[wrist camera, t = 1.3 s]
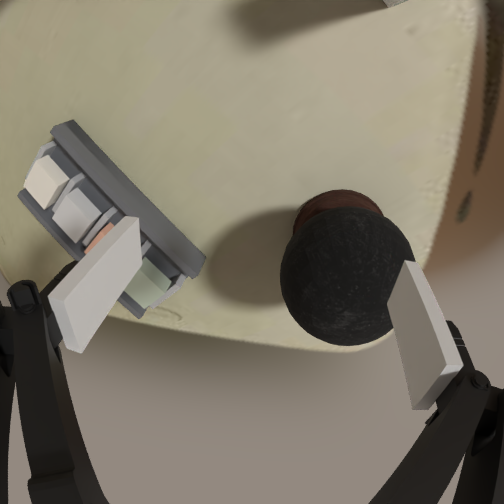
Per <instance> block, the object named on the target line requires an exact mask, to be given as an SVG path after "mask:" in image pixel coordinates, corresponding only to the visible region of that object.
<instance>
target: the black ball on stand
mask: <svg viewBox="0 0 504 504" xmlns="http://www.w3.org/2000/svg"><path fill="white" fill-rule="evenodd" d="M405 260H406V261H412V262H416V261H415V258H414V255H413V252H412V250H411V247H410V244H409V242H408V240H407V239H406V237H405V236H404V234H403V233H402V232H401V231H400V229H399V228H398V227H397V226H396V225H395V224H394V223H393V222H392V221H390V220H389V219H388V218H386V217H384V216H383V213H382V212H381V210H380V209H379V207H378V206H377V205H376V203H374V202H373V201H372V200H371V199H370V198H368V197H367V196H365V195H363V194H361V193H358V192H355V191H352V190H343V189H342V190H332V191H328V192H325V193H322V194H320V195H318V196H316V197H314V198H313V199H311V200H310V201H309V202H308V203H306V205H305V206H304V207H303V208H302V209H301V210H300V212H299V214H298V216H297V217H296V220H295V223H294V227H293V236H292V238H291V240H290V242H289V243H288V245H287V247H286V250H285V253H284V256H283V259H282V263H281V270H280V284H281V290H282V296H283V298H284V300H285V303H286V305H287V308H288V310H289V312H290V314H291V315H292V317H293V318H294V319H295V321H296V322H297V323H298V324H299V325H300V326H301V327H302V328H303V329H304V330H305V331H306V332H307V333H309V334H311V335H312V336H314V337H316V338H318V339H320V340H322V341H325V342H327V343H330V344H334V345H340V346H353V345H361V344H365V343H369V342H371V341H374V340H376V339H378V338H380V337H382V336H384V335H385V334H386V333H388V332H389V331H390V330H391V329H393V324H392V320H391V317H390V313H389V310H388V306H387V302H388V300H389V298H390V295H391V293H392V291H393V288H394V286H395V283H396V281H397V278H398V276H399V273H400V271H401V268H402V266H403V263H404V261H405Z"/></svg>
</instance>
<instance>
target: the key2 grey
mask: <svg viewBox="0 0 504 504" xmlns="http://www.w3.org/2000/svg"><path fill="white" fill-rule="evenodd" d="M101 214H102V213H101V212H100V211H99V210H98V209H97V208H96V207H95V206H94V204H93V203H92V202H91V201H90V200H89V199H88V198H87V197H86V196H85V195H84V194H83V193H82V192H81V191H80V190H79V188H78V187H77V188H76V189H74V190H73V191H71V192H70V193H68V194H67V195H66V196H65V198H64V199H63V201H62V202H61V204H60V206H59V207H58V209H57V211H56V212H55V214H54V216H53V217H52V219H53V220H54V221H55V222H56V223H57V224H58V225H59V227H60V228H61V229H62V230H63V231H64V232H65V233H66V234H67V235H68V236H69V237H70V238H71V239H72V240H73V241H74V242H75V243H77V242H78V241H79V240H80V239H81V238H82V237H83V236H84V235H85V234H86V233H87V232H88V230H89V229H90V228H91V227H92V225H93V224H94V223H95V221H96V220H97V219H98V218H99V216H100V215H101Z"/></svg>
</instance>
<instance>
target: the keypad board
mask: <svg viewBox="0 0 504 504" xmlns="http://www.w3.org/2000/svg"><path fill="white" fill-rule="evenodd" d="M50 133H51V134H52V135H53V136H54V140H53V141H52V142H49V143H47V144H45V145H42V146H41V148H40V150H39V152H38V154H37V155H36V157H35V159H34V161H33V163H32V165H31V167H30V169H29V171H28V173H27V175H26V177H25V180H26V179H27V177H28V175H29V173H30V171H31V169H32V167H33V165H34V163H35V161H36V160H38V159H40V158H42V157H44V156H46V155H49V156H50V157H51V159H52V160H53V161H54V162H55V163H56V164H57V165H58V166H59V168H60V169H61V170H62V171H63V172H64V173H65V174H66V175H67V176H68V178H69V181H68V183H67V184H66V186H65V187H64V189H63V190H62V192H61V194H60V195H59V197H58V199H57V200H56V202H55V203H53V204H52V205H51V206H49V207H48V208H46V209H45V210H44V209H43V208H42V207H41V206H40V204H39V203H38V202H37V201H36V200H35V199H34V198H33V196H32V195H31V194H30V193H29V192H28V191H27V189H26V188H25V189H23V190H21V191H20V192H19V194H18V198H19V199H20V200H21V201H22V202H23V204H24V205H25V206H26V207H27V208H28V209H29V211H30V212H31V213H32V214H33V215H34V216H35V217H36V219H37V220H38V221H39V222H40V223H41V224H42V225H43V226H44V227H45V229H46V230H47V231H48V232H49V233H50V234H51V235H52V236H53V237H54V238H55V239H56V240H57V241H58V243H59V244H60V245H61V246H62V247H63V248H64V249H65V250H66V251H67V252H68V253H69V254H70V255H71V256H72V257H73V258H74V259H75V260H76V261H80V260H81V259H82V258H83V257H84V256H85V255H86V254H85V253H84V251H85V250H86V249H87V247H88V246H89V245H90V244H91V242H92V241H93V240H94V239H95V237H96V236H97V235H98V234H99V233H100V231H101V230H102V229H103V228H104V227H106V226H107V225H108V224H109V223H110V222H111V223H112V224H113V225H114V226H115V225H116V224H117V223H118V222H120V221H121V220H122V219H123V218H124V217H125V216H130V217H137V218H139V228H140V242H141V254H142V259H143V258H144V257H146V258H147V259H148V260H149V261H150V262H151V263H152V264H153V265H155V266H156V267H157V268H158V269H159V270H160V271H161V272H162V273H163V274H164V275H165V276H166V277H167V278H168V279H169V280H170V281H171V284H170V286H169V287H168V289H167V291H166V293H165V294H164V295H163V296H161V297H160V298H159V299H157V300H156V301H155V302H153V303H152V304H151V305H149V306H150V307H151V308H152V309H153V308H155V307H156V306H157V305H159V304H160V303H161V302H163V301H164V300H166V299H167V298H168V297H170V296H171V295H172V294H174V293H175V292H176V291H178V290H179V289H180V288H181V286H182V284H183V282H184V280H185V279H186V278H187V277H188V276H189V277H191V278H192V279H193V278H195V277H196V276H198V274H199V272H200V270H201V268H202V265H203V263H204V261H205V259H206V256H205V255H204V254H203V253H202V252H201V251H200V250H199V249H198V248H196V247H195V246H194V245H193V244H192V243H191V242H190V241H189V240H188V239H187V238H186V237H185V236H184V235H183V234H182V233H181V232H180V231H179V230H178V229H177V228H176V227H175V226H174V225H173V224H172V223H171V222H170V221H169V220H168V218H167V217H166V216H165V215H164V214H163V213H162V212H161V211H160V210H159V209H158V208H157V207H156V206H155V205H154V204H153V203H152V202H151V201H150V200H149V199H148V198H147V197H146V196H145V195H144V194H143V193H142V192H141V191H140V190H139V189H138V188H137V187H136V186H135V185H134V184H133V183H132V182H131V181H130V180H129V178H128V177H127V176H126V175H125V174H124V173H123V172H122V171H121V170H120V169H119V168H118V167H117V166H116V165H115V164H114V163H113V162H112V161H111V160H110V159H109V158H108V156H107V155H106V154H105V153H104V152H103V151H102V150H101V149H100V148H99V147H98V146H97V145H96V144H95V143H94V142H93V140H92V139H91V138H90V137H89V136H88V135H87V134H86V133H85V132H84V131H83V130H82V129H81V127H80V126H79V125H78V124H77V123H76V122H75V121H74V120H70V121H67V122H64V123H61V124H59V125H56V126H54V127H53V128H52V130H51V132H50ZM77 187H78V188H79V190H80V191H81V192H82V193H83V194H84V195H85V196H86V197H87V198H88V199H89V200H90V201H91V202H92V203H93V204H94V206H95V207H96V208H97V209H98V210H99V211H100V212H101V213H102V214H101V215H100V216H99V218H98V219H97V220H96V221H95V223H94V224H93V225H92V227H91V228H90V229H89V230H88V232H87V233H86V234H85V235H84V236H83V237H82V238H81V239H80V240H79V241H78V242H77V243H75V242H74V241H73V240H72V239H71V238H70V237H69V236H68V235H67V234H66V233H65V232H64V231H63V230H62V229H61V228H60V227H59V225H58V224H57V223H56V222H55V221H54V220H53V219H52V217H53V216H54V214H55V212H56V211H57V209H58V207H59V206H60V204H61V202H62V201H63V199H64V198H65V196H66V195H67V194H68V193H70V192H71V191H73V190H74V189H76V188H77ZM117 300H118V301H119V302H120V303H121V304H122V305H123V306H124V307H125V308H127V309H128V310H129V311H130V312H131V313H132V314H133V315H134V316H136V317H137V318H138V319H140V318H141V317H142V316H143V315H144V313H145V311H146V309H147V308H148V307H149V306H148V307H147V308H146V309H144V308H143V307H141V306H140V305H139V304H138V303H137V302H136V301H135V300H134V299H133V298H131V297H130V296H129V295H128V294H127V293H126V292H125V291H123V292H122V294H121V295H120V296H119V298H118V299H117Z"/></svg>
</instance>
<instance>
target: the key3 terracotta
mask: <svg viewBox="0 0 504 504" xmlns="http://www.w3.org/2000/svg"><path fill="white" fill-rule="evenodd" d="M113 227H114V225H113V224H112V223H111V222H110V223H109V224H108V225H107V226H106V227H104V228H103V229H102V230H101V231H100V233H99V234H98V235H97V236H96V237H95V239H94V240H93V241H92V242H91V244H90V245H89V246H88V247H87V249H86V250H85V251H84V253H85V254H87V253H88V252H89V251H90V250H91V249H92V248H93V247H94V246H95V245H96V244H97V243H98V242H99V241H100V240H101V239H102V238H103V237H104V236H105V235H106V234H107V233H108V232H109V231H110V230H111V229H112V228H113Z"/></svg>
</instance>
